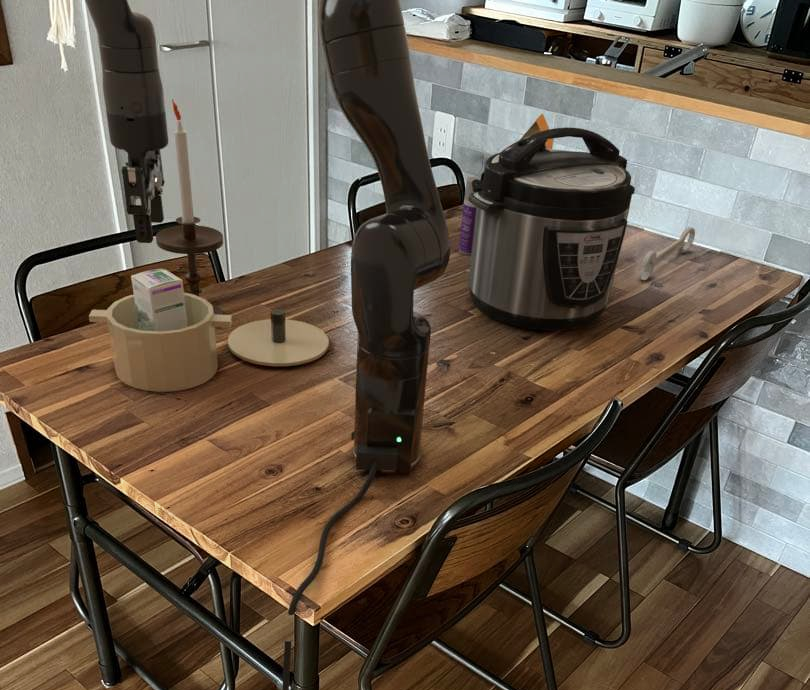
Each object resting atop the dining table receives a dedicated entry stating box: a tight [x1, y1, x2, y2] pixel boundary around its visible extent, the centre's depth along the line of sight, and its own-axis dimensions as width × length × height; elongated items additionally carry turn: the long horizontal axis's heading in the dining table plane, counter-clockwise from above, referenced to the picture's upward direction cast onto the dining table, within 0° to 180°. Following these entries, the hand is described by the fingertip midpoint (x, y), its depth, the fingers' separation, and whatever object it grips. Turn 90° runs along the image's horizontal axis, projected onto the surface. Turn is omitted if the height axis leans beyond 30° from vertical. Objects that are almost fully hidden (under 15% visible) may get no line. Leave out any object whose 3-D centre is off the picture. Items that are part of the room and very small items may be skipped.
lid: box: [227, 308, 330, 367], centre depth 140 cm, size 17×17×6 cm
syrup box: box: [130, 267, 188, 331], centre depth 129 cm, size 6×6×14 cm
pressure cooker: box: [467, 127, 636, 331], centre depth 153 cm, size 30×28×32 cm
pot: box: [88, 292, 233, 393], centre depth 131 cm, size 16×21×10 cm
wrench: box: [640, 226, 696, 281], centre depth 183 cm, size 28×2×6 cm, turn 145°
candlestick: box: [155, 98, 224, 315], centre depth 138 cm, size 11×11×35 cm
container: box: [458, 176, 481, 256], centre depth 179 cm, size 5×5×15 cm
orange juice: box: [519, 113, 555, 149], centre depth 209 cm, size 8×9×20 cm
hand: (150, 231), depth 120 cm, fingers open, 8 cm apart
